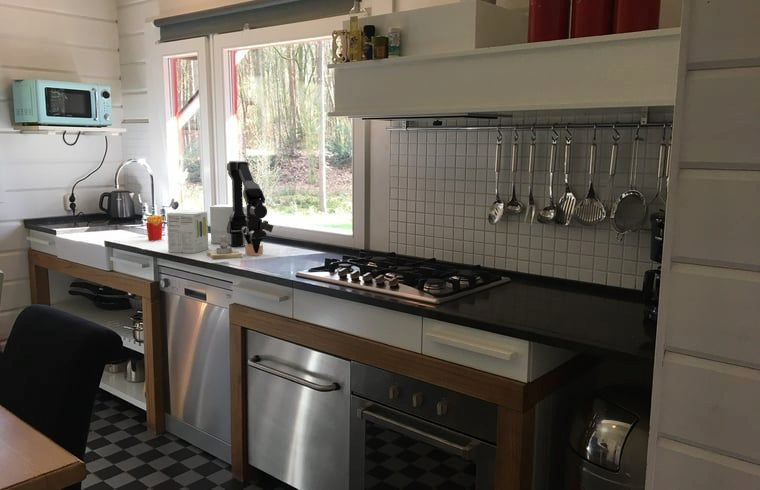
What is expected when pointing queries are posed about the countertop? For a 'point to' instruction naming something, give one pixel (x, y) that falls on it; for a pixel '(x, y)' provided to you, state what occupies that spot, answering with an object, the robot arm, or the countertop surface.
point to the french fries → (154, 227)
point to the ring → (250, 250)
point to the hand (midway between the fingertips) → (254, 251)
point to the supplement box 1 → (187, 231)
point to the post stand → (224, 251)
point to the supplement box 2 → (222, 222)
